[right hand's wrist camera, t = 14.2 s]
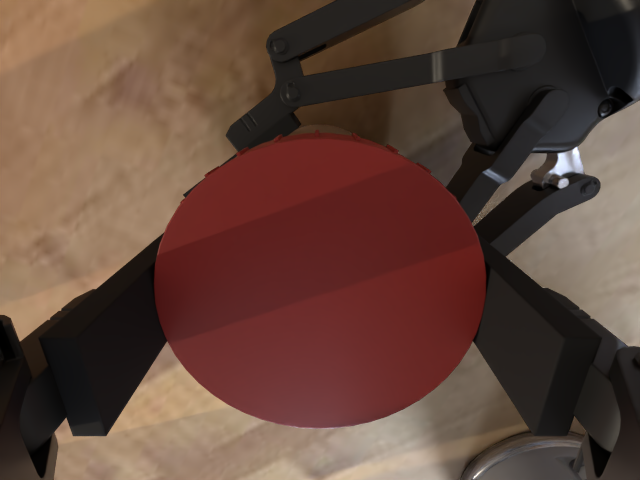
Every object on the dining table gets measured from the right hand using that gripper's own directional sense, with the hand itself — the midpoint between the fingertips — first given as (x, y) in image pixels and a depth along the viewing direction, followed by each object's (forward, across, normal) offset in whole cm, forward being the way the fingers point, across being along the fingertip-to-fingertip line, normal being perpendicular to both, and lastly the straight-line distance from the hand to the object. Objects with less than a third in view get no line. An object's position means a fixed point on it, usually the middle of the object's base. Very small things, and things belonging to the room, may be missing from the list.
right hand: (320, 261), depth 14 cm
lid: (-3, 0, 0) cm, 3 cm away
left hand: (+6, -4, -3) cm, 7 cm away
